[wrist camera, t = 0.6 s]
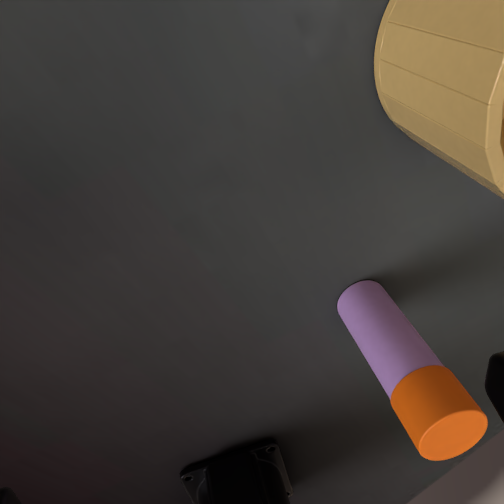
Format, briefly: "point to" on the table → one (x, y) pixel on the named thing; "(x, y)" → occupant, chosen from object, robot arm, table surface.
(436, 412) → the glue stick
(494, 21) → the pen pot
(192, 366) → the table surface
